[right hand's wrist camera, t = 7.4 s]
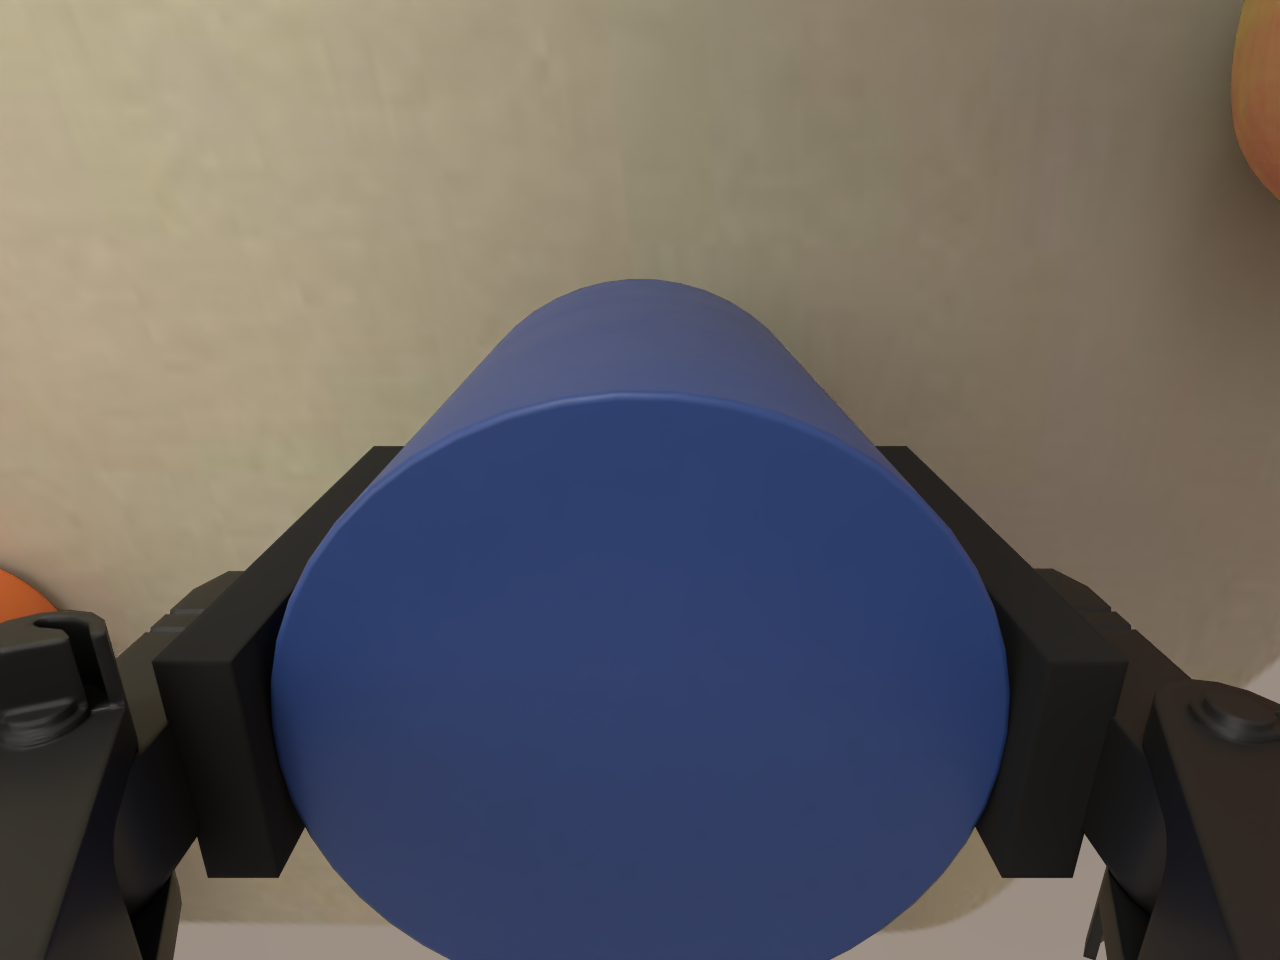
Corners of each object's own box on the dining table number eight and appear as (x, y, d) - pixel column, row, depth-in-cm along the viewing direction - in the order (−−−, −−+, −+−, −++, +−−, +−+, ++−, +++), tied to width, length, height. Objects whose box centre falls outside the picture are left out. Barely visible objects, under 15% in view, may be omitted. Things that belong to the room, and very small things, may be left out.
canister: (814, 611, 18) (973, 994, 9) (484, 626, 18) (344, 1018, 10) (825, 268, 15) (1063, 370, 7) (435, 289, 15) (181, 414, 7)
